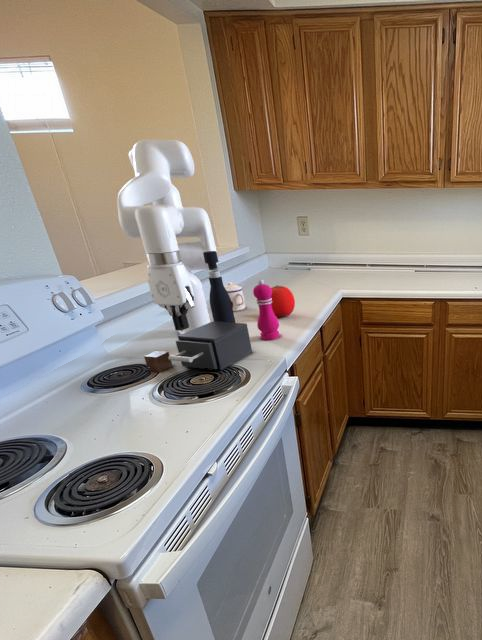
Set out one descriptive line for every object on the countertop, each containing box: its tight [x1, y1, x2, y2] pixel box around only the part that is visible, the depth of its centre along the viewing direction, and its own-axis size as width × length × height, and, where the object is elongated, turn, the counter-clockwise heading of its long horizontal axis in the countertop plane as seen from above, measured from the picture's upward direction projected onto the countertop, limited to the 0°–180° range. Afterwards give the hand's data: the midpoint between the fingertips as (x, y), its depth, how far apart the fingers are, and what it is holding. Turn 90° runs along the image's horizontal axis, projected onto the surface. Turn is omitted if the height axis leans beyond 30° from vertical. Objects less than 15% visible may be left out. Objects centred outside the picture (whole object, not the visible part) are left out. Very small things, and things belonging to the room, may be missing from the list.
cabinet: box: [177, 320, 253, 372], centre depth 125 cm, size 15×13×10 cm
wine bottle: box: [203, 251, 236, 323], centre depth 134 cm, size 6×6×30 cm
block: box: [143, 350, 173, 373], centre depth 121 cm, size 4×4×4 cm
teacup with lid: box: [224, 281, 246, 312], centre depth 179 cm, size 12×9×12 cm
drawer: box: [168, 339, 218, 371], centre depth 121 cm, size 19×11×8 cm, turn 163°
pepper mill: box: [252, 279, 280, 341], centre depth 141 cm, size 7×7×20 cm
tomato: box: [270, 284, 296, 318], centre depth 167 cm, size 12×12×13 cm
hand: (182, 328), depth 112 cm, fingers closed
